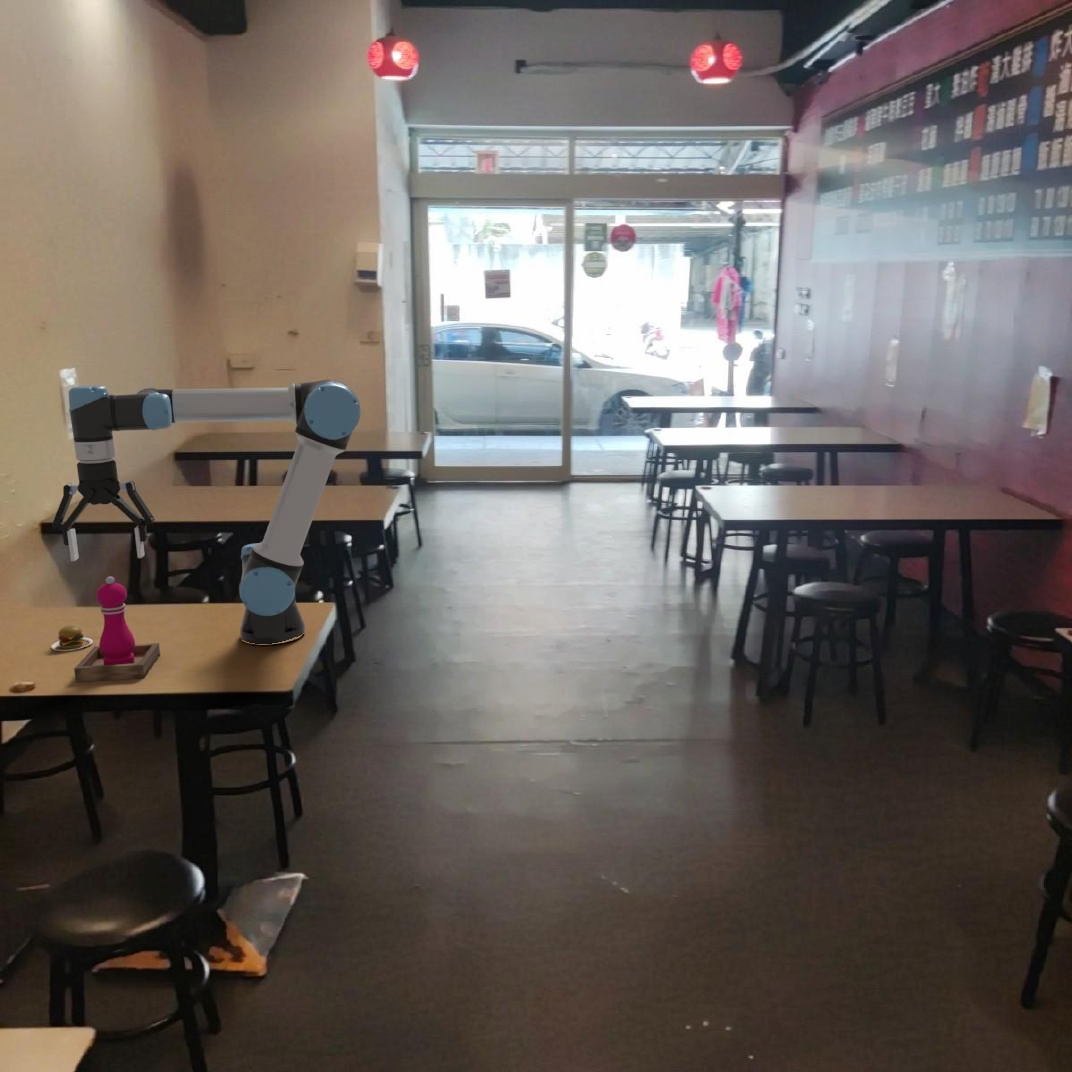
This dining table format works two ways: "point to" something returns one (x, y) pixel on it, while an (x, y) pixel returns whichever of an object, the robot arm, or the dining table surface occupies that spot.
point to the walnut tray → (117, 665)
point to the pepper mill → (115, 625)
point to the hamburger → (71, 638)
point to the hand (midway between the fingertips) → (108, 558)
